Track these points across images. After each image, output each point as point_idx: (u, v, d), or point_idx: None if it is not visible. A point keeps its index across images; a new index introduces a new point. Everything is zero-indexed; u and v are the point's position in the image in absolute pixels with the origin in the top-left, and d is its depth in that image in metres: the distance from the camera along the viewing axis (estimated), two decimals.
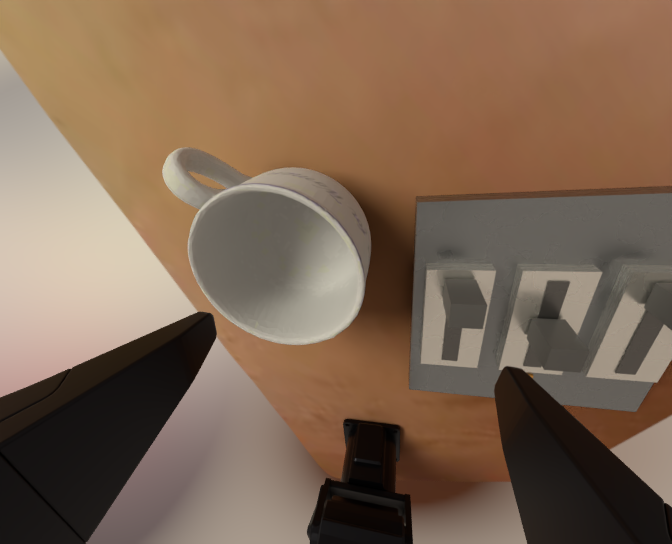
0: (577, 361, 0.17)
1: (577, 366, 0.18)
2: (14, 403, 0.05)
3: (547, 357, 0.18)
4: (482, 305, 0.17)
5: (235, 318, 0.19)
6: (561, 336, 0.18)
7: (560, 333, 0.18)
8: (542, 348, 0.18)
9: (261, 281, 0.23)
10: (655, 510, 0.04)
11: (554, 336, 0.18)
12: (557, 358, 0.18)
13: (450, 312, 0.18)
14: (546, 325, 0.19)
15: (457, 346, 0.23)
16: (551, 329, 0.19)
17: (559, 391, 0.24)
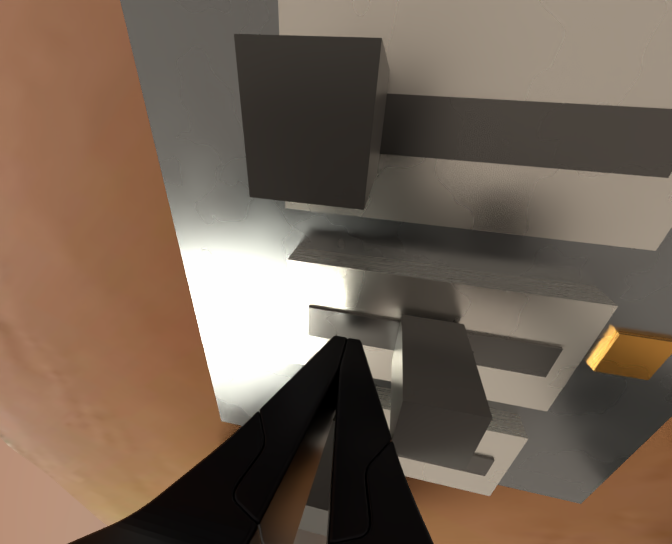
0: (441, 421, 0.06)
1: (462, 421, 0.06)
2: (234, 459, 0.05)
3: (422, 456, 0.07)
4: None
5: None
6: (396, 385, 0.08)
7: (396, 375, 0.08)
8: None
9: None
10: (374, 446, 0.05)
11: (393, 396, 0.08)
12: (426, 447, 0.07)
13: (299, 526, 0.10)
14: (394, 366, 0.09)
15: None
16: (394, 373, 0.08)
17: None
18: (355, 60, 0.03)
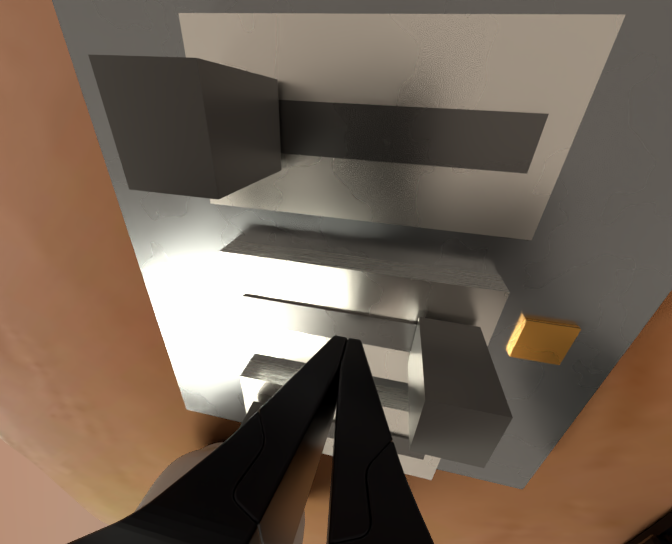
0: (462, 420, 0.06)
1: (482, 420, 0.06)
2: (233, 459, 0.05)
3: (442, 455, 0.07)
4: None
5: None
6: (415, 385, 0.08)
7: (415, 376, 0.08)
8: None
9: None
10: (375, 446, 0.05)
11: (412, 396, 0.08)
12: (447, 446, 0.07)
13: None
14: (411, 367, 0.09)
15: None
16: (412, 374, 0.09)
17: (622, 260, 0.08)
18: (182, 75, 0.04)
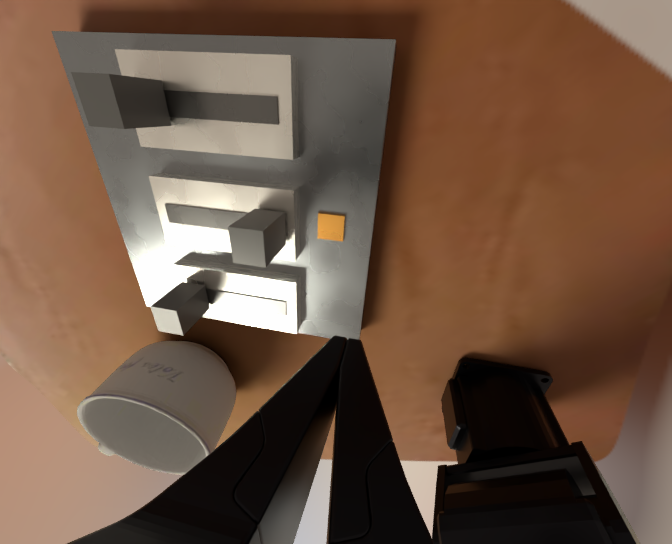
0: (246, 237, 0.14)
1: (253, 235, 0.14)
2: (233, 459, 0.05)
3: (248, 264, 0.15)
4: (151, 309, 0.18)
5: None
6: None
7: None
8: None
9: None
10: (375, 446, 0.05)
11: None
12: (246, 255, 0.15)
13: (168, 331, 0.19)
14: None
15: (264, 300, 0.20)
16: None
17: (350, 173, 0.16)
18: (104, 79, 0.12)
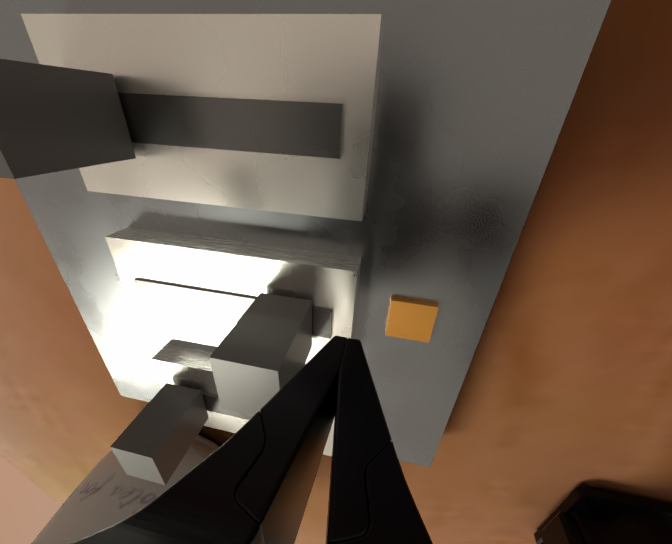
0: (244, 376, 0.07)
1: (259, 375, 0.07)
2: (235, 459, 0.05)
3: (249, 412, 0.08)
4: (113, 450, 0.11)
5: None
6: None
7: None
8: None
9: None
10: (374, 445, 0.05)
11: None
12: (245, 402, 0.08)
13: (142, 476, 0.12)
14: None
15: None
16: None
17: (460, 241, 0.09)
18: None
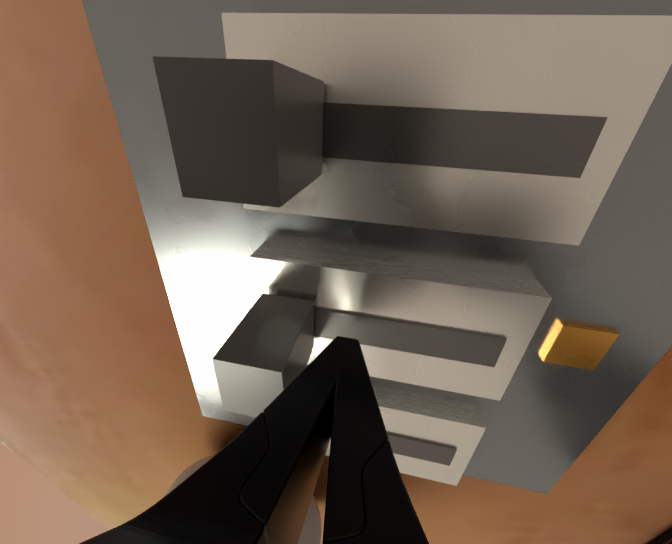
0: (248, 377, 0.07)
1: (262, 376, 0.07)
2: (239, 460, 0.05)
3: None
4: None
5: None
6: None
7: None
8: None
9: None
10: (371, 445, 0.05)
11: None
12: (248, 404, 0.08)
13: None
14: None
15: (416, 443, 0.12)
16: None
17: (666, 265, 0.08)
18: (254, 78, 0.04)
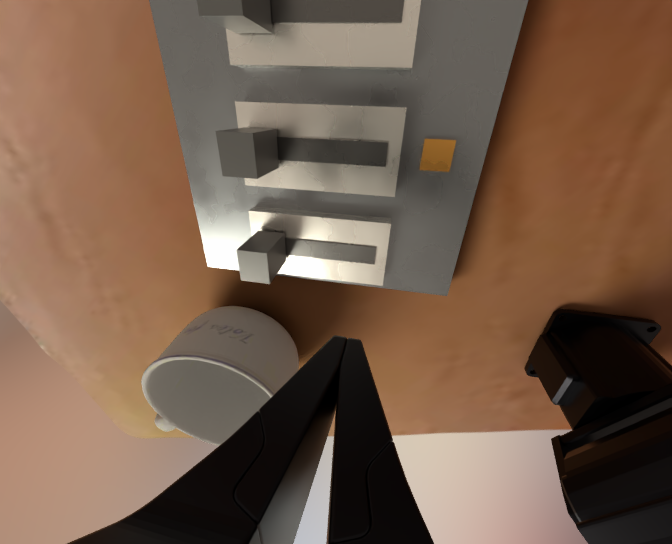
0: (235, 142, 0.13)
1: (242, 139, 0.13)
2: (233, 459, 0.05)
3: (239, 177, 0.14)
4: (237, 254, 0.16)
5: None
6: None
7: None
8: None
9: None
10: (375, 446, 0.05)
11: None
12: (236, 165, 0.14)
13: (252, 280, 0.17)
14: None
15: (350, 247, 0.18)
16: None
17: (470, 86, 0.14)
18: None
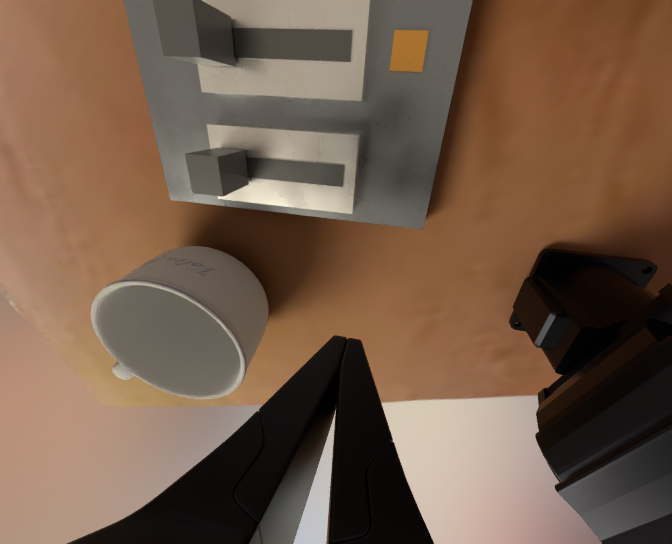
0: (173, 8, 0.12)
1: (181, 4, 0.12)
2: (233, 459, 0.05)
3: (181, 56, 0.13)
4: (186, 159, 0.15)
5: (228, 388, 0.21)
6: None
7: None
8: (191, 59, 0.13)
9: None
10: (375, 446, 0.05)
11: None
12: (177, 41, 0.12)
13: (204, 193, 0.15)
14: None
15: (316, 166, 0.17)
16: None
17: None
18: None
